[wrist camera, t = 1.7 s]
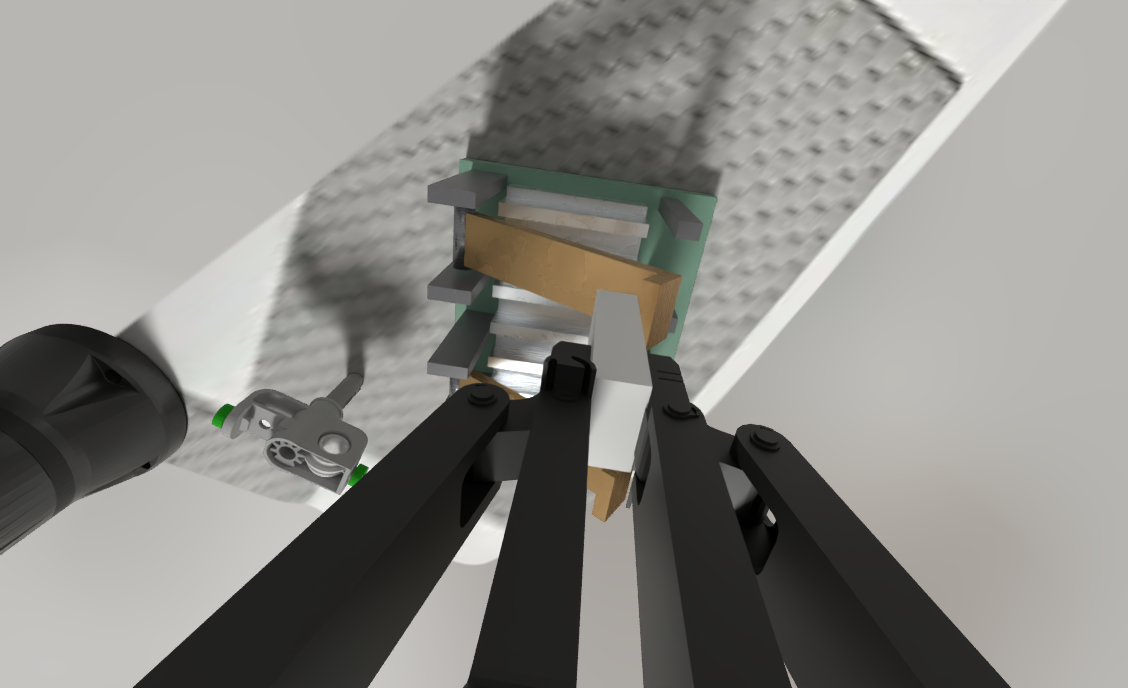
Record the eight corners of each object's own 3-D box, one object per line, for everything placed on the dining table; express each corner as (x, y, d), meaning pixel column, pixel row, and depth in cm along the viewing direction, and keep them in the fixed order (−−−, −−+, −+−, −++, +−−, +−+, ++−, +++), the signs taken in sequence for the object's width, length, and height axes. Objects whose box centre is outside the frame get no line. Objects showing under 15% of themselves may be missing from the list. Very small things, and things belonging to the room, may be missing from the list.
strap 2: (458, 400, 32) (431, 414, 31) (460, 355, 31) (431, 367, 29) (625, 501, 26) (603, 526, 24) (638, 450, 24) (616, 473, 22)
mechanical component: (303, 340, 39) (213, 407, 30) (415, 395, 40) (362, 473, 31) (294, 367, 40) (205, 438, 31) (404, 419, 41) (349, 501, 32)
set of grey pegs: (463, 377, 37) (427, 443, 30) (471, 168, 30) (427, 184, 23) (631, 403, 37) (638, 476, 30) (679, 199, 30) (705, 225, 23)
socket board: (458, 372, 39) (453, 381, 38) (465, 158, 31) (459, 159, 30) (657, 402, 39) (659, 412, 37) (712, 194, 31) (717, 197, 30)
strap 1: (463, 262, 28) (431, 269, 26) (465, 202, 26) (432, 204, 25) (666, 342, 21) (643, 358, 20) (686, 267, 20) (662, 278, 18)
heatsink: (496, 377, 37) (485, 404, 34) (511, 183, 30) (499, 191, 27) (606, 394, 37) (607, 423, 33) (645, 203, 30) (651, 214, 27)
